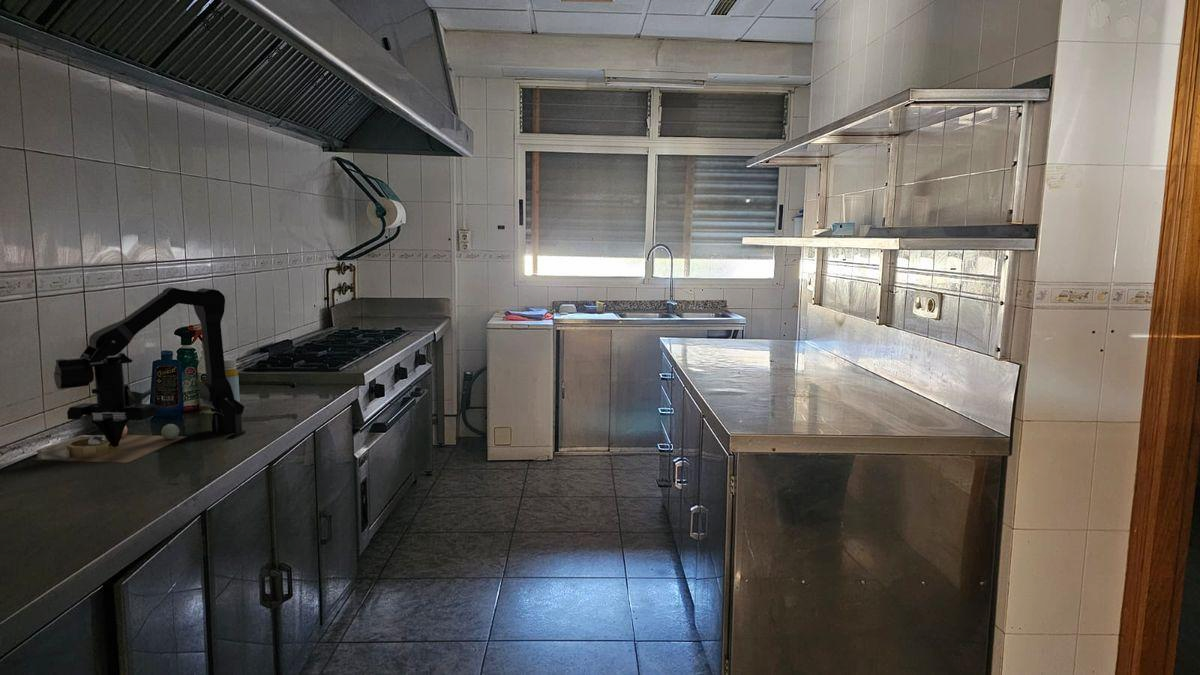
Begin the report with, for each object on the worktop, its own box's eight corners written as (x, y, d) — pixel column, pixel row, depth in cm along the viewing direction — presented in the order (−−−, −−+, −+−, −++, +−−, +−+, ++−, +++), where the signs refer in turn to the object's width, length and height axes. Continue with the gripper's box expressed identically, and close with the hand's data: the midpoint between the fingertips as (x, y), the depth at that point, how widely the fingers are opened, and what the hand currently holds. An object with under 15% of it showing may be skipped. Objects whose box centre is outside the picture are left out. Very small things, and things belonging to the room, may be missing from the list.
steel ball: (109, 432, 179) (95, 434, 179) (95, 436, 175) (81, 438, 176) (113, 448, 179) (99, 449, 180) (99, 452, 175) (85, 454, 176)
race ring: (127, 446, 182) (126, 436, 182) (98, 458, 172) (97, 447, 172) (88, 445, 183) (87, 435, 182) (57, 457, 173) (56, 446, 172)
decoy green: (183, 437, 191) (182, 422, 190) (173, 441, 187) (172, 426, 186) (168, 437, 191) (167, 422, 190) (158, 441, 187) (157, 425, 186)
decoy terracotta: (131, 436, 191) (130, 421, 191) (120, 440, 187) (119, 425, 187) (117, 435, 192) (115, 420, 191) (105, 439, 188) (104, 424, 187)
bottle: (223, 409, 227) (220, 361, 225) (210, 406, 231) (207, 359, 229) (244, 405, 233) (241, 358, 231) (231, 402, 237) (229, 356, 235)
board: (187, 440, 192) (186, 429, 191) (127, 467, 169) (126, 453, 169) (104, 438, 193) (103, 426, 193) (34, 464, 171) (33, 451, 170)
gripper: (168, 377, 182) (173, 437, 184) (97, 376, 183) (102, 437, 185) (138, 385, 171) (144, 450, 173) (62, 385, 172) (68, 449, 174)
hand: (115, 446), depth 177 cm, fingers closed
